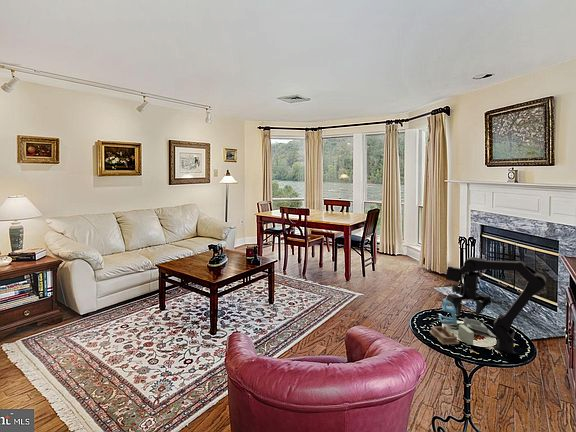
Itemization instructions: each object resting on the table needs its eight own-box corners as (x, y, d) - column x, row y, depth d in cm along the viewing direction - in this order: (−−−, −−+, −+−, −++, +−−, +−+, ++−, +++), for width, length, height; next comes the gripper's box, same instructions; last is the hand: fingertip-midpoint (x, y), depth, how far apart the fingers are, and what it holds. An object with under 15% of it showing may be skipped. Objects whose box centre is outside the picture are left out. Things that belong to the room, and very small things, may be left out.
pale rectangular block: (473, 344, 160) (474, 332, 160) (468, 344, 160) (469, 332, 159) (462, 336, 169) (463, 324, 168) (457, 336, 168) (458, 324, 168)
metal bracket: (471, 325, 168) (459, 312, 183) (467, 335, 169) (455, 322, 184) (500, 334, 167) (485, 321, 182) (495, 345, 168) (481, 331, 183)
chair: (458, 324, 181) (460, 302, 180) (441, 322, 183) (443, 301, 182) (454, 318, 189) (456, 297, 187) (438, 316, 191) (440, 296, 189)
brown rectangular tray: (459, 343, 161) (459, 335, 160) (442, 344, 160) (443, 335, 160) (445, 331, 173) (445, 323, 172) (429, 332, 172) (430, 324, 171)
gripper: (478, 278, 170) (475, 308, 172) (442, 279, 169) (439, 309, 171) (493, 286, 159) (490, 318, 161) (454, 286, 158) (452, 319, 160)
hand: (467, 316), depth 163 cm, fingers open, 9 cm apart
